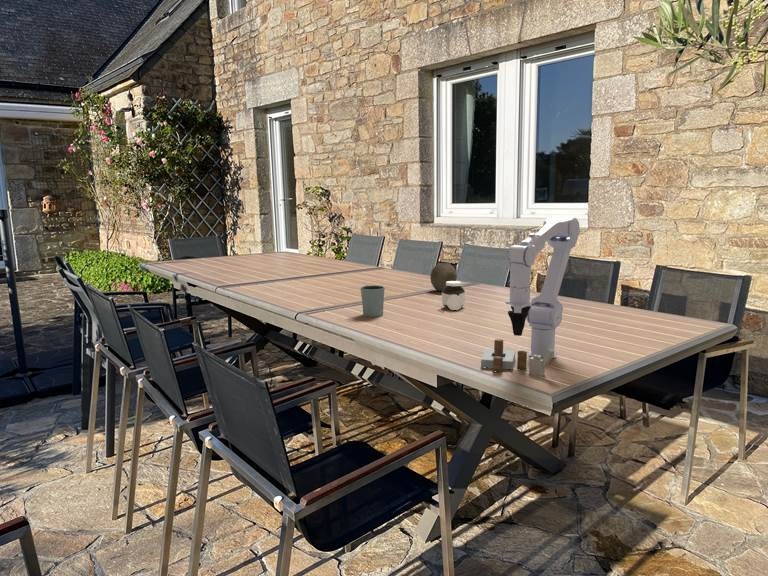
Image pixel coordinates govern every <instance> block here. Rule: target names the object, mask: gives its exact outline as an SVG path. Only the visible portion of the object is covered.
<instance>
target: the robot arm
mask: <svg viewBox="0 0 768 576" xmlns="http://www.w3.org/2000/svg"><path fill="white" fill-rule="evenodd" d="M579 222H580V221H579V220H578V218H577V217H552V216H551V217H550V216H549V217H546V219H545V220H543V224H542V227H541V229H539V230H538V231H537V233H535V232H534V233H533V232H530V233H529V234H528V236H527V237H525V238H524V239H523V240H522V241H521V242H519V243H518V244H514V245H511V246H510V247H509V248H508V250H507V253H506V262H507V263H508V271H510V274H509V276H510V278H509V300H505V302H504V303H505V304H506V305H509V306H510V308H511V310H508V311H507V314H508V317H509V318H510V322H511V326H512V327H511V328H512V333H513V336H517V337H521V336H522V335H523V331H524V328H525V326H526V325H525V324H526V322H527V323H528V325H529V327H531V330H530V331H531V332H530V347H529V352H528V357H529V358H531V357H533V355H539V356H541V358H544V356H545V354H546V352H547V350H548V349H553V350H554V351H555V353H554V354H553V356H552V358H551V359H556V357H557V356H556V355H557V354H556V349H555V347H556V346H555V345H556V329H557V328H558V327H559V326H560V324H561V323H562V320H563V310H564V305H563V304H562V303H561V302H560V300H558V296H559V292H560V289H561V286H562V283H563V282H562V281H563V279H564V276H565V272H566V268H567V265H568V262H569V258H570V255H571V251H572V249H573V248H575V247H576V245H577V241H578V238H579V235H580V232H581V227H580V223H579ZM546 243H547V244H548V245H549V246H550V247H551V248H553V252H552V254H551V258H550V262H549V263H548V264H549V265H548V269H547V271H546V275H545V278H544V282H543V285H542V288H541V292H540V293H539V294H538V295H537V296H535V297H534V298H532V299H531V275H532V274H531V270H532V266H533V265H534V264H535V261H536V258H537V256H538V254H539V253H541V252H542V251H543V250H544V248H545V246H546Z"/></svg>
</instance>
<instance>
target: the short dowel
mask: <svg viewBox="0 0 768 576" xmlns="http://www.w3.org/2000/svg"><path fill="white" fill-rule="evenodd" d="M502 366H503V357H500V356H495V357H493V369H492V372H494V371H496V372H495V373H497V372H500V373H502V372H503V369H502ZM501 371H502V372H501Z"/></svg>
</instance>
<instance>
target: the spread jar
mask: <svg viewBox="0 0 768 576" xmlns="http://www.w3.org/2000/svg"><path fill="white" fill-rule="evenodd" d="M465 302H466V292H465V289H464V288H463V287H462V281H459V280H456V281H447V282H446V287H445V288H444V289H443V291H441V304H442V305H443V307H444V308H445V309H448V308H449V309H450V310H451V311H453V310H456V311H458V310H460V309H461V308H463V307H464V305H465Z"/></svg>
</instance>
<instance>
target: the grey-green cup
mask: <svg viewBox="0 0 768 576" xmlns="http://www.w3.org/2000/svg"><path fill="white" fill-rule="evenodd" d="M385 289H386V287H385V286H383V285H376V284H375V285H373V284H372V285H364V286H361V287H360V295H361V303H362V304H361V305H362V314H363V316H364V317H366V316H369V317H368V318H377V317H376V316H379V317H383V316H384V303H385Z"/></svg>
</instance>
